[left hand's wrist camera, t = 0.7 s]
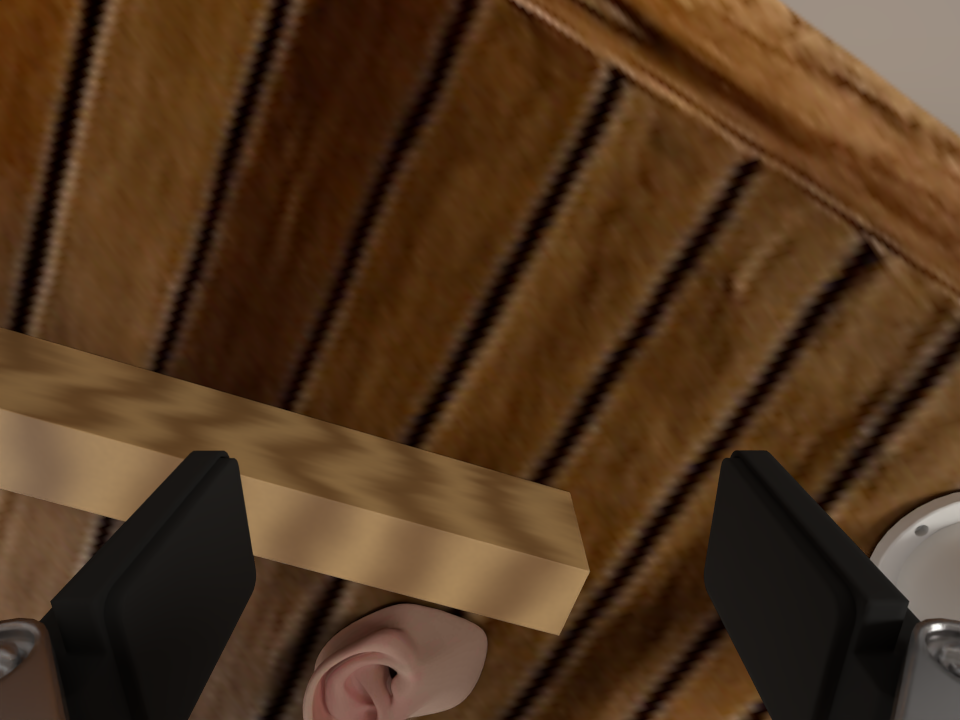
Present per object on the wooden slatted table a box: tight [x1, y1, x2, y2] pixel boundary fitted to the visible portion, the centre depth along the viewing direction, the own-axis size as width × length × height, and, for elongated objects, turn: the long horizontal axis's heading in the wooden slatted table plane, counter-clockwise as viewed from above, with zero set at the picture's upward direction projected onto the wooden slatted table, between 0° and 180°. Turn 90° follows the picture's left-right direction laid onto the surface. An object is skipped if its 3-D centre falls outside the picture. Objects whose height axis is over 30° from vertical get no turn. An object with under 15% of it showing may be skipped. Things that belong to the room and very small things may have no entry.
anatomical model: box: [303, 603, 487, 720], centre depth 42 cm, size 13×4×12 cm
